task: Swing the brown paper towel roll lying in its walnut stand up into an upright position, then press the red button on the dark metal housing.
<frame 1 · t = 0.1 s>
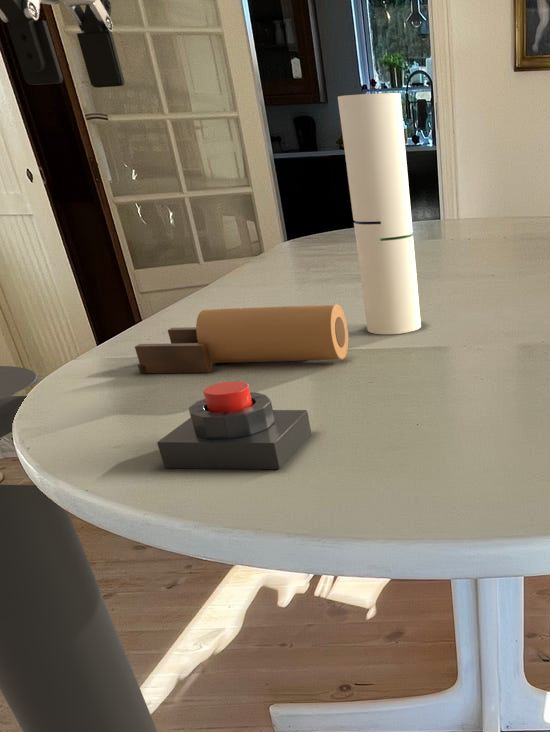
hand: (78, 85, 66), 26 cm above the table, tool pointing down, fingers open, 9 cm apart
paper roll: (273, 334, 85), point 3 cm above the table, hinge at 89.0°
cylindrical container: (394, 329, 98), on the table
button box: (241, 450, 63), on the table
roll stand: (193, 362, 88), on the table
button: (228, 398, 61), point 4 cm above the table, slide at 0.1 cm
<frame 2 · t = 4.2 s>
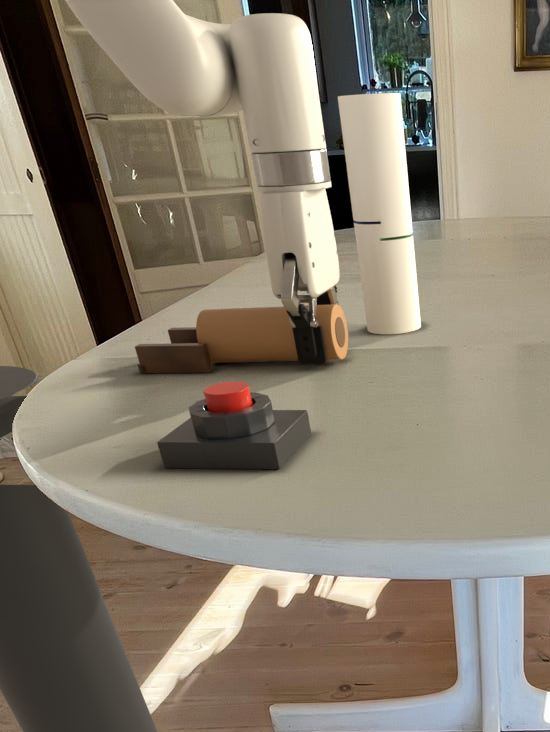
hand: (322, 354, 85), 1 cm above the table, tool pointing down, fingers closed on paper roll, 5 cm apart
paper roll: (273, 334, 85), point 3 cm above the table, hinge at 89.0°, touching gripper
everything else where it was.
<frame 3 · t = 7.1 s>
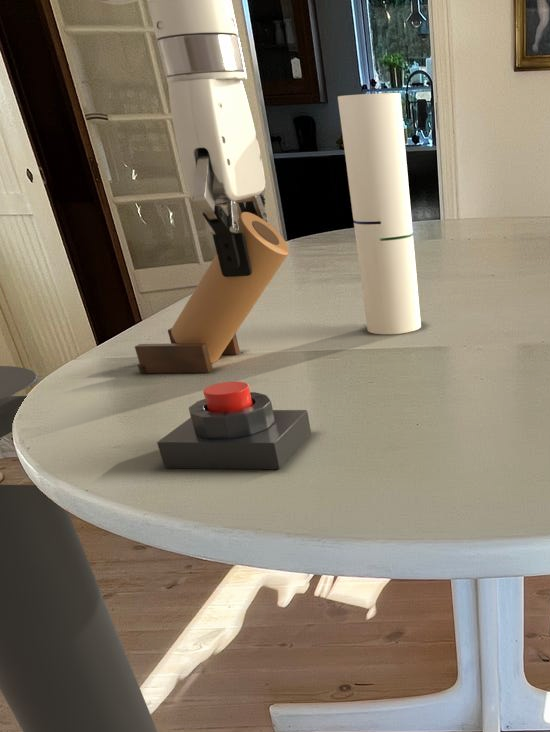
hand: (249, 268, 81), 10 cm above the table, tool pointing down, fingers closed on paper roll, 5 cm apart
paper roll: (228, 291, 83), point 8 cm above the table, hinge at 45.2°, touching gripper
everything else where it was.
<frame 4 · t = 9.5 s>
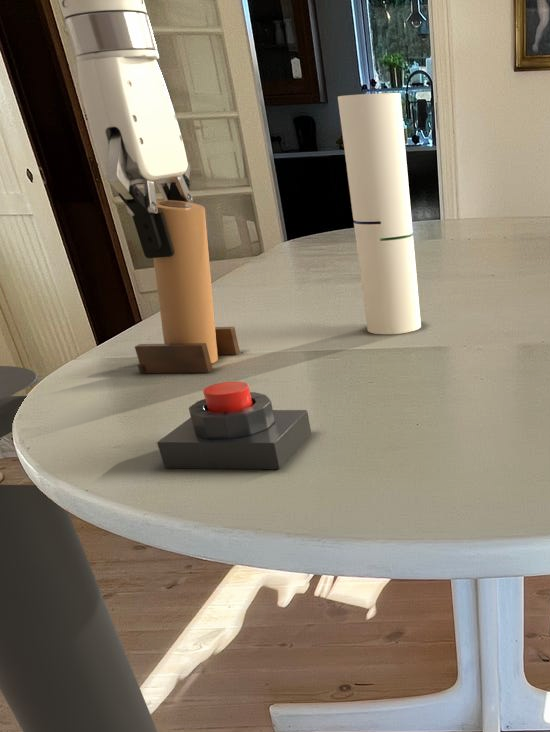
hand: (174, 250, 81), 12 cm above the table, tool pointing down, fingers closed on paper roll, 5 cm apart
paper roll: (184, 285, 83), point 8 cm above the table, hinge at 9.8°, touching gripper
everything else where it was.
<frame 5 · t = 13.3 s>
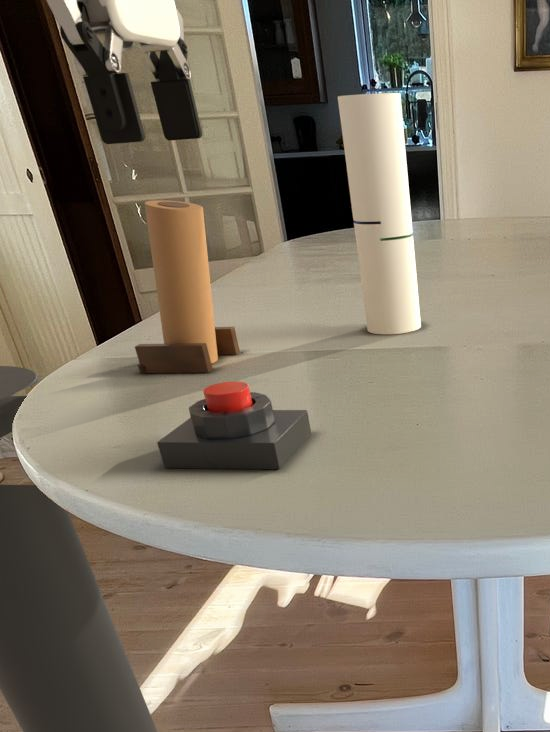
hand: (156, 140, 58), 22 cm above the table, tool pointing down, fingers open, 9 cm apart
paper roll: (183, 285, 83), point 8 cm above the table, hinge at 9.1°
everything else where it was.
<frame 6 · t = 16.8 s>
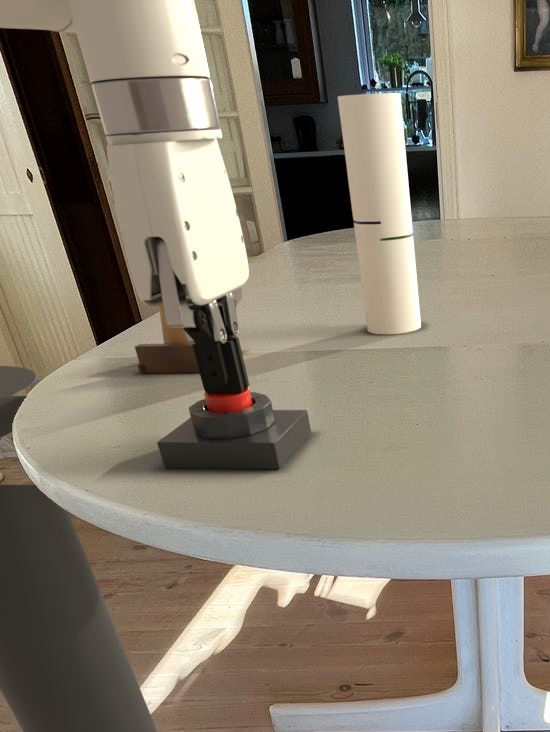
hand: (227, 390, 60), 5 cm above the table, tool pointing down, fingers closed
button: (229, 401, 61), point 4 cm above the table, slide at -0.2 cm, touching gripper
everything else where it was.
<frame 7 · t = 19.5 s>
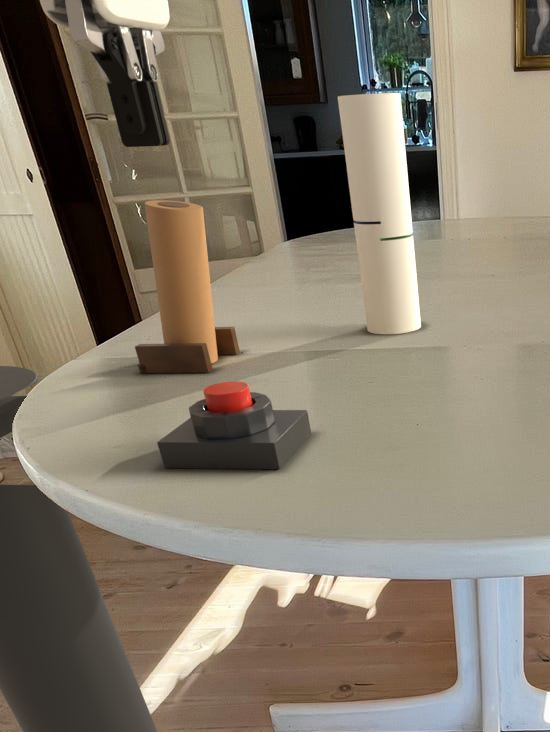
hand: (147, 145, 58), 22 cm above the table, tool pointing down, fingers closed
button: (228, 398, 61), point 4 cm above the table, slide at 0.1 cm
everything else where it was.
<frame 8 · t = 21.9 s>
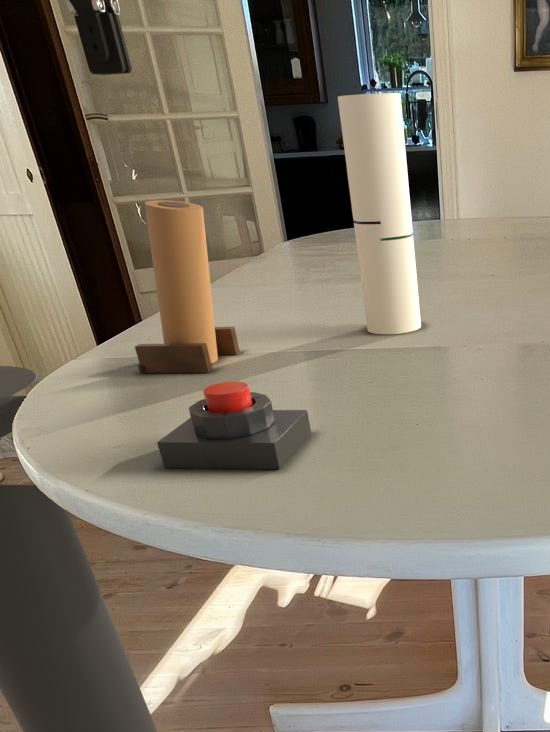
hand: (111, 73, 66), 27 cm above the table, tool pointing down, fingers closed
nothing on the table moved.
at the end: paper roll at +9° (first picture: +89°); button pushed in 1.1 cm at the most during the clip, back to where it started at the end; button slide at 0.1 cm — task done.
